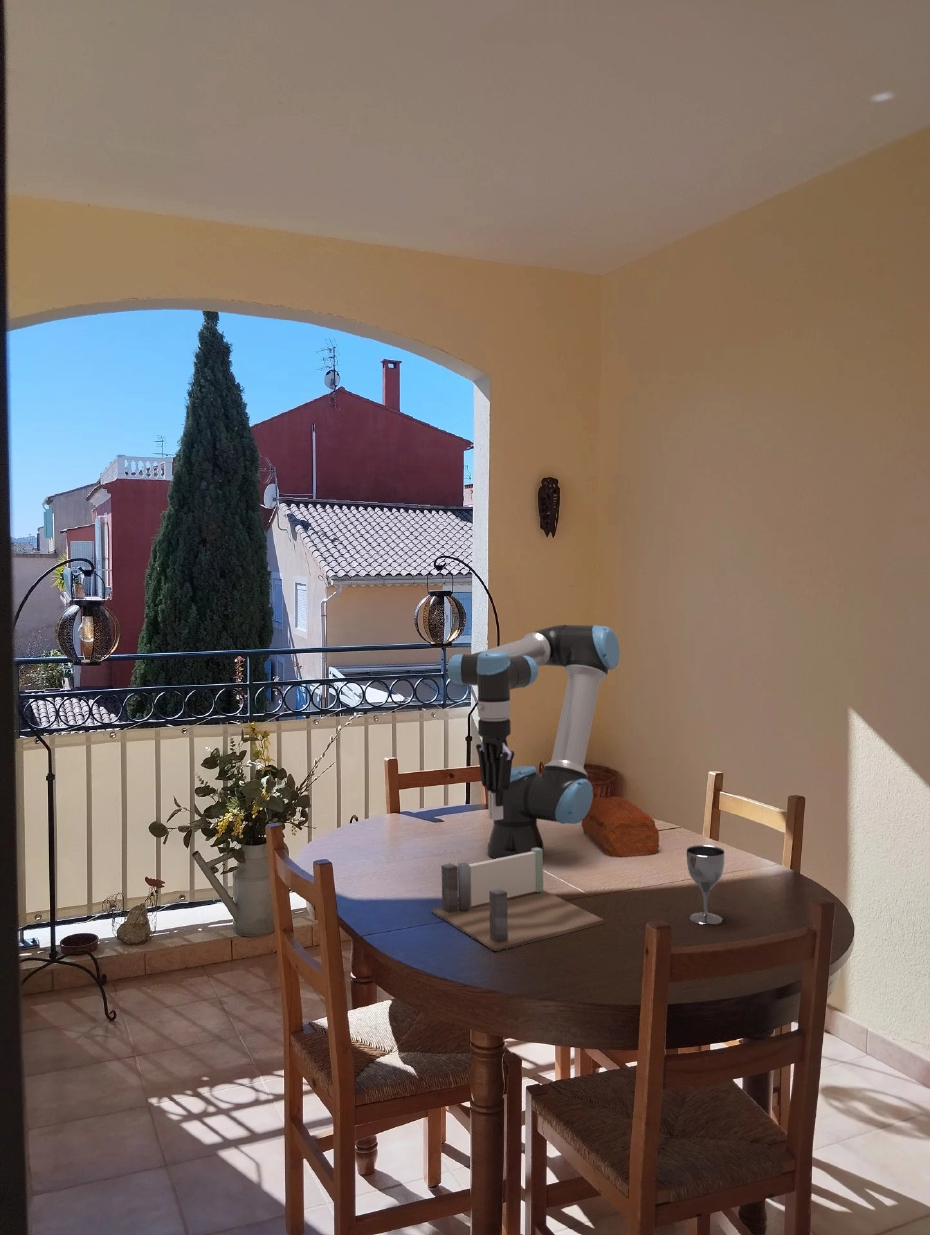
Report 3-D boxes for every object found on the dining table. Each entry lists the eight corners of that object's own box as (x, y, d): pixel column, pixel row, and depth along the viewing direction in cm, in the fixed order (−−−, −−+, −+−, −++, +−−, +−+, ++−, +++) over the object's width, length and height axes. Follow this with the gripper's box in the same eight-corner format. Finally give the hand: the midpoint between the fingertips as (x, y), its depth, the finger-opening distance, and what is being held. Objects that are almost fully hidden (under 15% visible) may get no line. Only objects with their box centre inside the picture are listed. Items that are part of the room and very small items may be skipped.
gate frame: (432, 913, 213) (431, 865, 212) (534, 889, 227) (534, 844, 227) (494, 952, 191) (493, 899, 190) (604, 923, 205) (603, 874, 204)
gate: (462, 911, 211) (461, 866, 210) (456, 908, 213) (455, 863, 212) (543, 892, 222) (543, 849, 222) (537, 889, 224) (537, 847, 224)
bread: (629, 828, 279) (629, 792, 278) (663, 855, 253) (663, 815, 252) (578, 831, 276) (577, 795, 276) (607, 859, 250) (607, 819, 249)
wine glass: (725, 914, 209) (725, 846, 208) (723, 927, 201) (723, 857, 201) (688, 910, 212) (688, 844, 211) (685, 923, 204) (684, 854, 203)
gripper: (465, 716, 225) (467, 814, 226) (496, 724, 213) (498, 828, 214) (492, 713, 228) (493, 810, 230) (524, 720, 217) (525, 822, 218)
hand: (495, 818), depth 222 cm, fingers closed
